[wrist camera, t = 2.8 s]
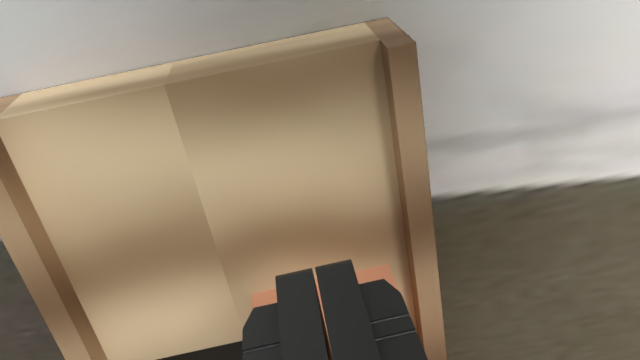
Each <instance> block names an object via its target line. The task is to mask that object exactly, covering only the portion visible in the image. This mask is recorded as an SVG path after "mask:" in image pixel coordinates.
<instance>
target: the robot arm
mask: <svg viewBox="0 0 640 360" xmlns="http://www.w3.org/2000/svg"><path fill="white" fill-rule="evenodd" d="M315 270H316V275H317V281H318V286H319V291H320V296H321V301H322V307H323V312H324V317H325V322H326V326H325V322H324V318H323V313H322V309H321V305H320V300H319V296H318V292H317V287H316V283H315V279H314V274H313V270H312V268H309V269H304V270H300V271H295V272H291V273H286V274H282V275H277V276H275V281H276V294H277V303H273V304H268V305H264V306H259V307H255V308H253V310H252V312H251V313H250V315H249V317H248V319H247V321H246V323H245V325H244V327H243V331H242V351H243V354H242V360H428V359H427V356H426V354H425V351H424V349H423V346H422V344H421V341H420V339H419V336H418V334H417V333H416V329H415V326H414V324H413V322H412V319H411V317H410V315H409V312H408V309H407V307H406V304H405V302H404V299H403V297H402V294H401V293H400V292H399V291H398V290H397V289H396V288H394V287H393V286H392V285H391V284H390V283H388V282H387V281H386V280H385V279H380V280H375V281H371V282H366V283H362V284H359V283H358V280H357V277H356V273H355V270H354V267H353V263H352V260H351V259H349V260H344V261H340V262H335V263H331V264H326V265H322V266H317V267H315ZM326 327H327V331H326ZM327 333H328V335H327ZM328 338H329V340H328ZM329 343H330V345H329ZM330 348H331V349H330Z"/></svg>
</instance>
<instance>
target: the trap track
mask: <svg viewBox="0 0 640 360" xmlns="http://www.w3.org/2000/svg"><path fill="white" fill-rule="evenodd" d="M0 237H1V239H2V241H3V243H4V245H5V247H6V249H7V250H8V252H9V254H10V256H11V258H12V260H13V262H14V264H15V266H16V267H17V269H18V271H19V273H20V275H21V277H22V279H23V281H24V282H25V284H26V286H27V288H28V290H29V292H30V294H31V296H32V298H33V299H34V301H35V303H36V305H37V307H38V309H39V311H40V313H41V315H42V316H43V318H44V320H45V322H46V324H47V326H48V328H49V330H50V331H51V333H52V335H53V337H54V339H55V341H56V343H57V345H58V347H59V348H60V350H61V352H62V354H63V356H64V358H65V360H242V354H243V351H242V331H243V327H244V325H245V323H246V321H247V319H248V317H249V315H250V313H251V312H252V294H254V293H259V292H264V291H268V290H273V289H276V281H275V276H277V275H282V274H286V273H291V272H295V271H300V270H304V269H309V268H312V270H313V274H314V279H315V280H317V275H316V270H315V267H317V266H322V265H326V264H331V263H335V262H340V261H344V260H349V259H351V260H352V263H353V267H354V270H355V271H360V270H364V269H369V268H373V267H378V266H383V265H387V264H389V265H390V268H391V271H392V273H393V276H394V278H395V281H396V283H397V286H398V289H399V291H400V293H401V294H402V297H403V299H404V302H405V304H406V307H407V309H408V312H409V315H410V317H411V319H412V322H413V324H414V326H415V329H416V333H417V334H418V336H419V339H420V341H421V344H422V346H423V349H424V351H425V354H426V356H427V359H428V360H447V355H446V344H445V334H444V324H443V314H442V304H441V294H440V283H439V273H438V263H437V253H436V243H435V232H434V222H433V212H432V202H431V192H430V182H429V171H428V161H427V151H426V141H425V131H424V121H423V110H422V100H421V90H420V80H419V70H418V60H417V49H416V42H415V41H414V40H413V39H411V38H410V37H409V36H408V35H407V34H406V33H405V32H404V31H402V30H401V29H400V28H399V27H398V26H397V25H396V24H395V23H393V22H392V21H391V20H390V19H389V18H388V17H387V18H382V19H377V20H372V21H367V22H363V23H358V24H353V25H348V26H343V27H339V28H334V29H329V30H324V31H319V32H315V33H310V34H305V35H300V36H295V37H290V38H286V39H281V40H276V41H271V42H266V43H262V44H257V45H252V46H247V47H242V48H238V49H233V50H228V51H223V52H218V53H213V54H209V55H204V56H199V57H194V58H189V59H185V60H180V61H175V62H170V63H165V64H161V65H156V66H151V67H146V68H141V69H137V70H132V71H127V72H122V73H117V74H112V75H108V76H103V77H98V78H93V79H88V80H84V81H79V82H74V83H69V84H64V85H60V86H55V87H50V88H45V89H40V90H35V91H31V92H26V93H21V94H16V95H11V96H7V97H2V98H0Z"/></svg>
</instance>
